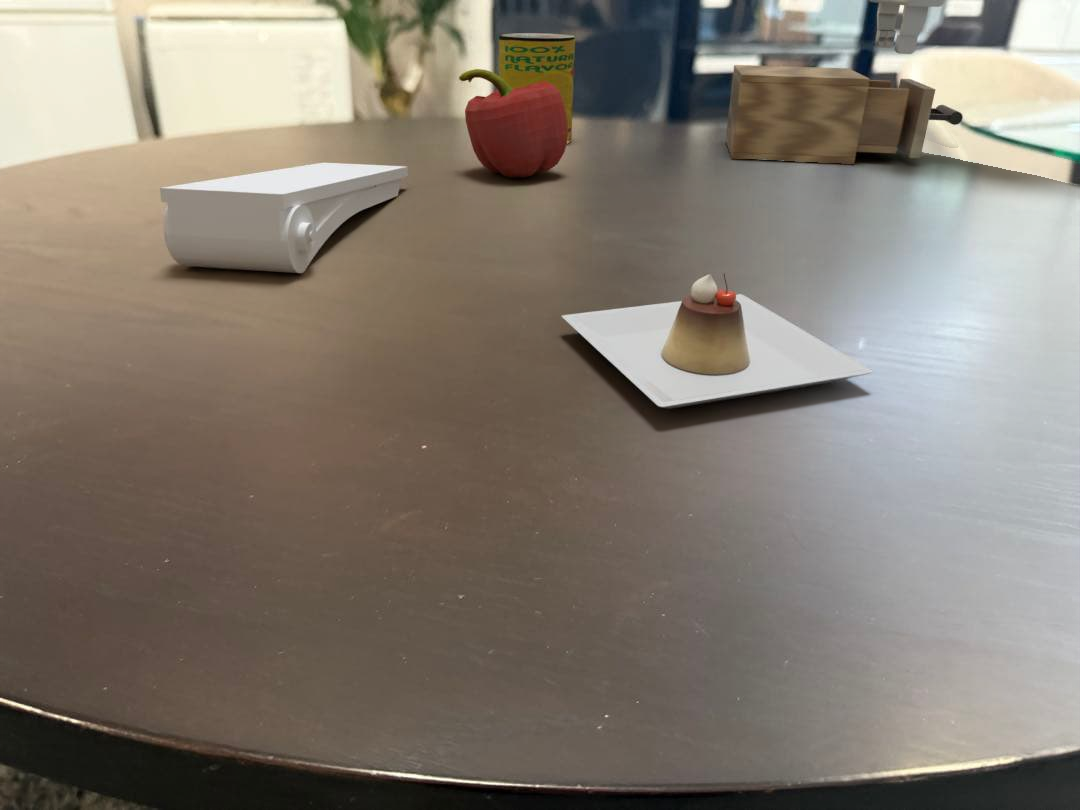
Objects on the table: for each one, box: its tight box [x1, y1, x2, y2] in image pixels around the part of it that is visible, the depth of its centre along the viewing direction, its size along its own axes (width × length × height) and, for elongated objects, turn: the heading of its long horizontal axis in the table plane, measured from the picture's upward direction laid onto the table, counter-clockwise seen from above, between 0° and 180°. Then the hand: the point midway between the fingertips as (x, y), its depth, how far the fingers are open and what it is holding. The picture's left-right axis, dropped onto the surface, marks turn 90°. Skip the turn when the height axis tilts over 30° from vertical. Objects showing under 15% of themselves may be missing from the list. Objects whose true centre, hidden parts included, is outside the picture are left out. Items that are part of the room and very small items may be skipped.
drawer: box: [856, 78, 964, 159], centre depth 97 cm, size 17×10×7 cm, turn 82°
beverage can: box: [498, 32, 576, 141], centre depth 101 cm, size 9×9×12 cm
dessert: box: [561, 272, 874, 410], centre depth 44 cm, size 12×12×5 cm
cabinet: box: [724, 64, 871, 165], centre depth 98 cm, size 14×12×9 cm
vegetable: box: [458, 68, 568, 178], centre depth 84 cm, size 11×10×10 cm
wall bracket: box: [159, 162, 409, 274], centre depth 67 cm, size 10×7×28 cm
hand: (893, 50), depth 93 cm, fingers open, 8 cm apart
